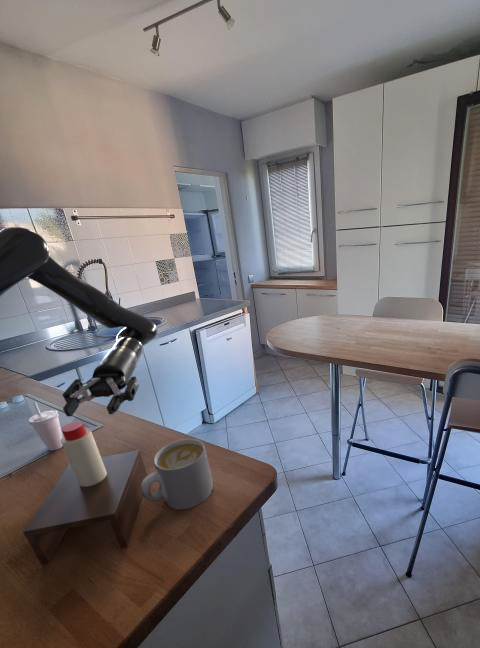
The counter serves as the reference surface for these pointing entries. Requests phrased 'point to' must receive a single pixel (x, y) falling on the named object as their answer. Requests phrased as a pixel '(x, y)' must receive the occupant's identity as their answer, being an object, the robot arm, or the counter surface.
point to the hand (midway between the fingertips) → (88, 412)
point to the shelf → (89, 504)
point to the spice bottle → (83, 454)
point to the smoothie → (47, 427)
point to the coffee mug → (180, 475)
